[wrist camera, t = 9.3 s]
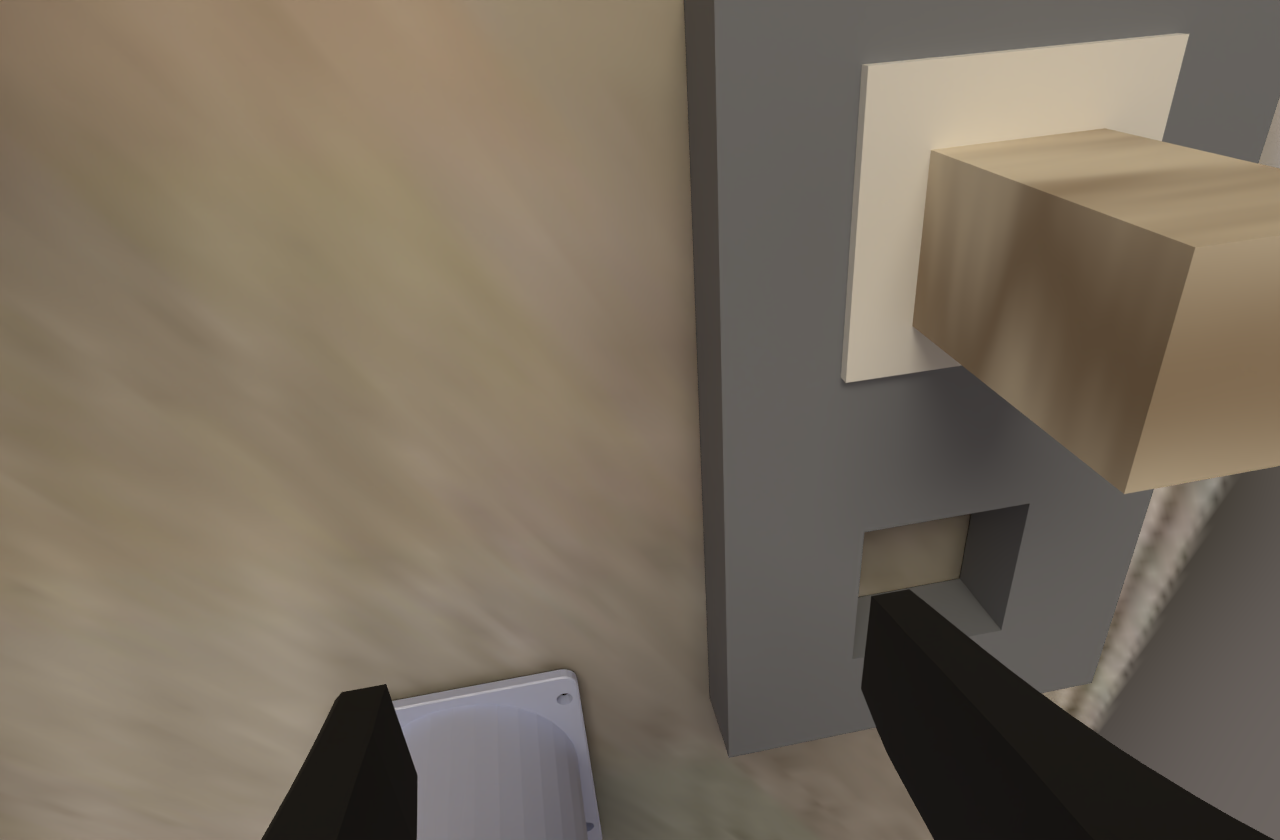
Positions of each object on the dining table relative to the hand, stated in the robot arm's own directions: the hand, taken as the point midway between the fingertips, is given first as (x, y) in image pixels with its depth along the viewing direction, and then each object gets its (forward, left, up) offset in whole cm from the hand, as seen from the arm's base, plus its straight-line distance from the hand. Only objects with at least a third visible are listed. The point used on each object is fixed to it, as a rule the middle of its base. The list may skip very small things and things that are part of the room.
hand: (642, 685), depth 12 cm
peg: (+4, -10, -8) cm, 13 cm away
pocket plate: (-2, -10, -10) cm, 15 cm away
